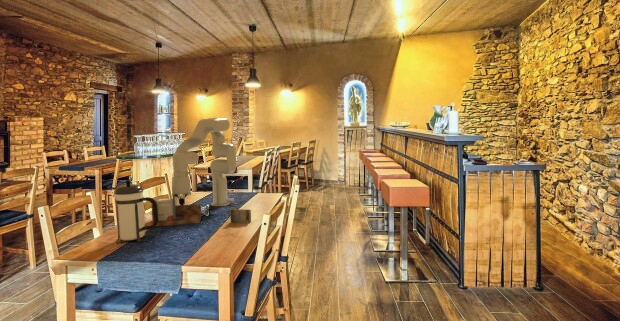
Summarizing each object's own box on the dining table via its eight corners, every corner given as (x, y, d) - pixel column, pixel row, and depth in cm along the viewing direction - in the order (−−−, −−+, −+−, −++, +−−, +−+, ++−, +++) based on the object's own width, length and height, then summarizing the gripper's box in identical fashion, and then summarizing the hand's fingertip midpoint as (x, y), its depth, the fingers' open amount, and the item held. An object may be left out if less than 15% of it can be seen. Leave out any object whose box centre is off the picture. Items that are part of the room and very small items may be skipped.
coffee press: (123, 247, 165) (118, 184, 161) (110, 240, 175) (105, 180, 172) (159, 238, 178) (156, 179, 174) (145, 231, 188) (142, 175, 185)
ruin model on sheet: (230, 223, 204) (229, 206, 203) (232, 222, 207) (231, 205, 206) (249, 224, 202) (249, 207, 201) (251, 222, 205) (250, 206, 204)
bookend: (184, 215, 213) (183, 192, 212) (183, 219, 205) (182, 195, 203) (175, 216, 212) (174, 192, 211) (173, 220, 204) (172, 196, 202)
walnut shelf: (201, 215, 219) (200, 196, 218) (199, 222, 204) (198, 202, 202) (157, 218, 213) (156, 199, 212) (152, 226, 198) (151, 205, 196)
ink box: (175, 217, 210) (174, 198, 208) (173, 220, 205) (172, 199, 204) (159, 218, 208) (158, 198, 207) (158, 221, 203) (156, 200, 202)
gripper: (194, 172, 211) (195, 203, 214) (167, 173, 208) (169, 204, 210) (193, 174, 204) (195, 205, 206) (165, 175, 201) (167, 207, 203)
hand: (182, 205), depth 208 cm, fingers closed
